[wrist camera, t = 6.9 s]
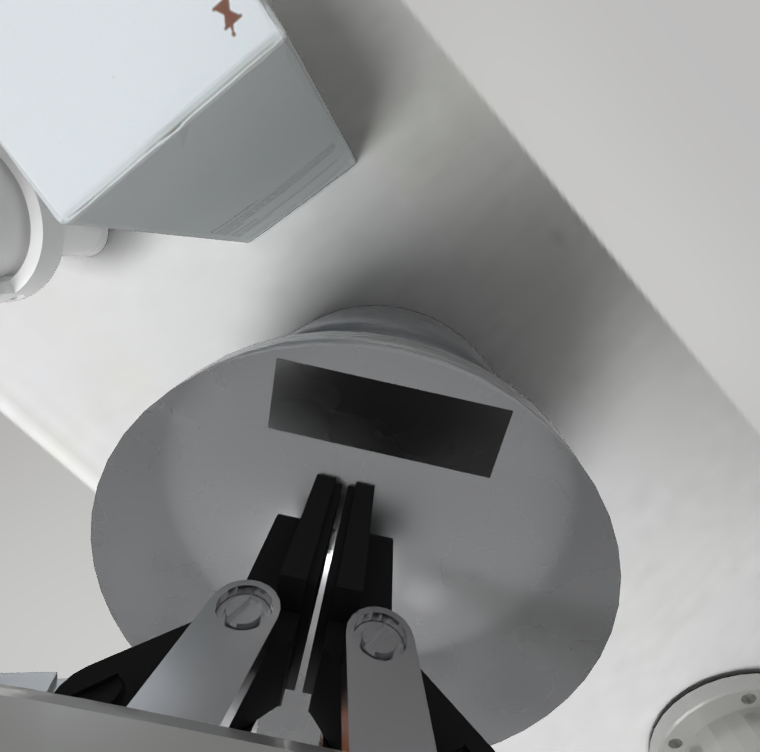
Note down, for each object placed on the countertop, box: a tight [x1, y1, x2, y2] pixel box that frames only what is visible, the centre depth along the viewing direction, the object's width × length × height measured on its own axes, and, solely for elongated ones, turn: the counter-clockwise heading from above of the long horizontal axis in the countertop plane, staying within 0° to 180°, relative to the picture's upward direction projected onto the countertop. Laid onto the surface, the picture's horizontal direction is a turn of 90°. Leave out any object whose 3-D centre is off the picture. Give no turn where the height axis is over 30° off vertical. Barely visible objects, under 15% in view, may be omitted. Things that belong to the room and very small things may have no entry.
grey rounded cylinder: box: [290, 306, 495, 375], centre depth 20 cm, size 15×15×10 cm
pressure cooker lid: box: [91, 331, 621, 746], centre depth 13 cm, size 16×16×4 cm
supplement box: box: [0, 0, 356, 243], centre depth 15 cm, size 7×7×13 cm
